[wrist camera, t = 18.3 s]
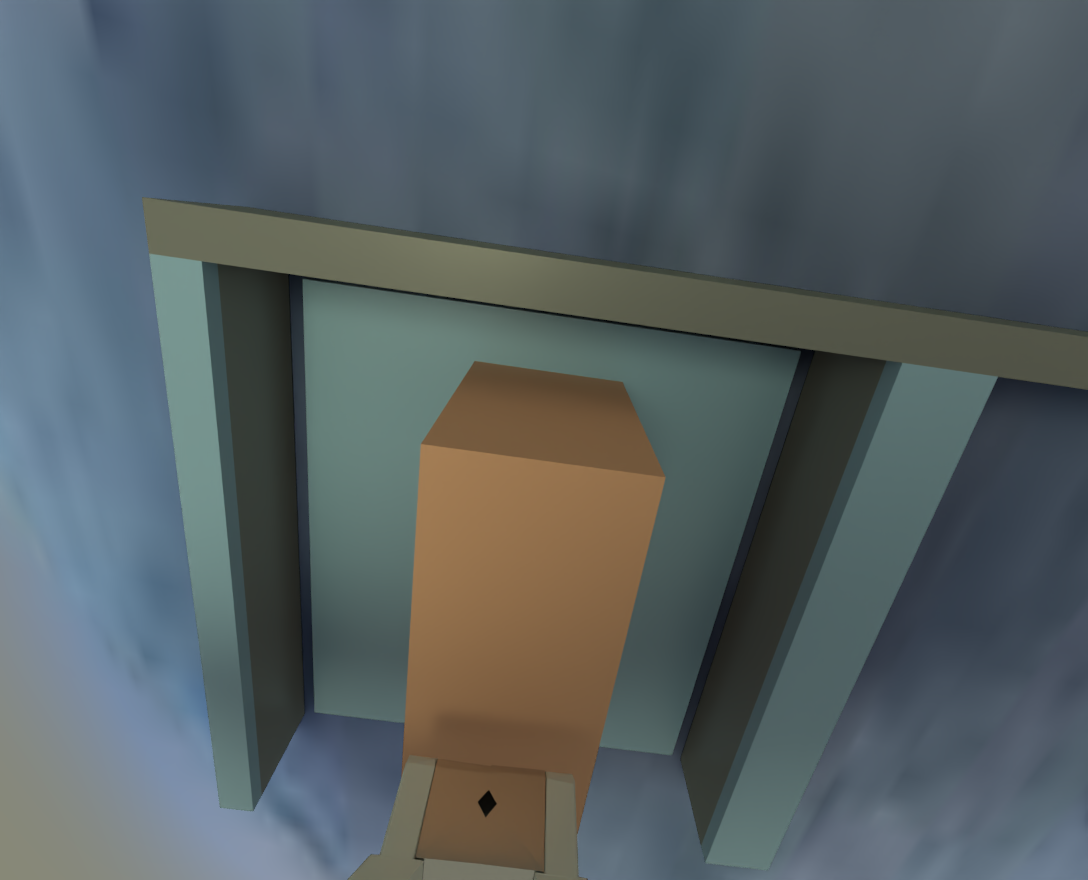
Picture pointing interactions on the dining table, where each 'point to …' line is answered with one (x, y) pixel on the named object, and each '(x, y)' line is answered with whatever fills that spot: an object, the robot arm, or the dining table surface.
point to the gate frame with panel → (672, 429)
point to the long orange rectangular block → (526, 569)
